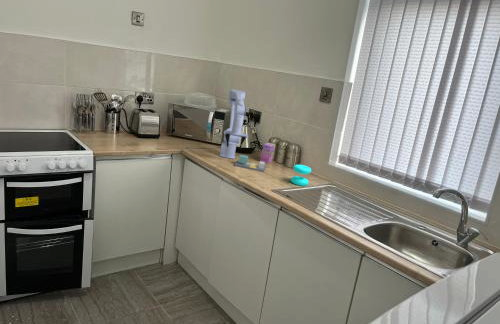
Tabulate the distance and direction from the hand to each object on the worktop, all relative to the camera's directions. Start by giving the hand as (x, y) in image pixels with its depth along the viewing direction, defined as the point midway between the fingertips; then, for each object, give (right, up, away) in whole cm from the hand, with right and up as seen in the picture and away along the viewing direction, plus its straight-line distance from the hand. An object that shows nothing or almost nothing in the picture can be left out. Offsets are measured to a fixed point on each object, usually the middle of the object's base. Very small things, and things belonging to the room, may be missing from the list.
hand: (233, 147), depth 231 cm
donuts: (+37, -21, -16) cm, 46 cm away
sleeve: (+6, -9, +1) cm, 10 cm away
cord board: (+10, -12, +1) cm, 15 cm away
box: (+21, -9, +23) cm, 32 cm away
